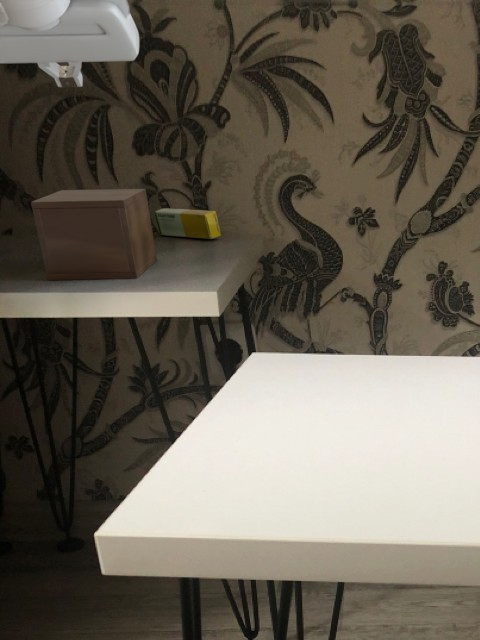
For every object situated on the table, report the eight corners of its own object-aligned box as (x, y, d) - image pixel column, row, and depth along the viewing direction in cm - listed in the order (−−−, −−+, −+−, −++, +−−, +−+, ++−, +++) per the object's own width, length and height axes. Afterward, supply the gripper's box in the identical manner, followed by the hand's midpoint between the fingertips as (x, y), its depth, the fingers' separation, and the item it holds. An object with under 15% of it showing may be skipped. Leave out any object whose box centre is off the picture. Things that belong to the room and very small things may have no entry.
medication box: (158, 236, 154) (152, 211, 152) (170, 232, 156) (164, 207, 153) (211, 239, 148) (205, 213, 146) (222, 235, 150) (217, 209, 148)
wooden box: (75, 262, 133) (61, 190, 128) (157, 260, 133) (145, 188, 129) (48, 280, 121) (30, 202, 116) (137, 278, 122) (123, 200, 117)
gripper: (121, -40, 103) (154, 60, 117) (-65, -38, 102) (-10, 64, 115) (120, 4, 102) (154, 101, 115) (-69, 8, 101) (-13, 105, 114)
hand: (71, 82), depth 115 cm, fingers closed
